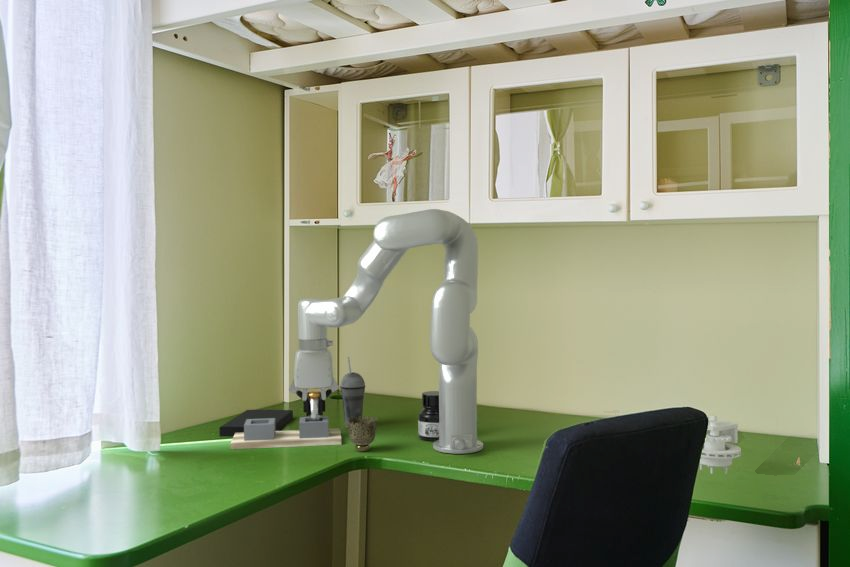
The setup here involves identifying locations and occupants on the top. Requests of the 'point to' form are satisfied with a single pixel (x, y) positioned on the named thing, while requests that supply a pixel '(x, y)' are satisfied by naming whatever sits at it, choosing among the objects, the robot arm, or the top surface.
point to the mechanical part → (720, 444)
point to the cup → (362, 432)
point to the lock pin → (314, 405)
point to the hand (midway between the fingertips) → (314, 414)
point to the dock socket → (259, 429)
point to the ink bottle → (429, 416)
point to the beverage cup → (352, 395)
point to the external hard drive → (238, 422)
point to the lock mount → (313, 428)
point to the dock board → (286, 440)
